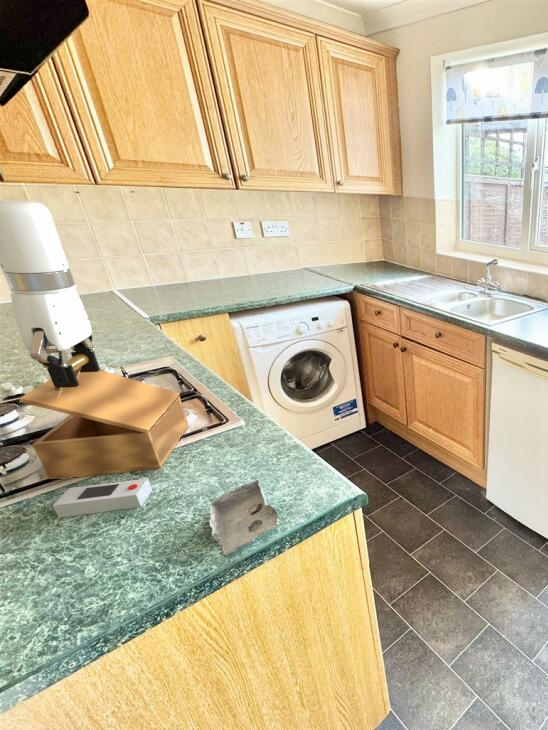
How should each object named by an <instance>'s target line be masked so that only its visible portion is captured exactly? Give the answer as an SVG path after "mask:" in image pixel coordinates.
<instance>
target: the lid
mask: <svg viewBox="0 0 548 730" xmlns="http://www.w3.org/2000/svg"><path fill="white" fill-rule="evenodd" d="M88 361H89V359H88V357H87V356H86V355H83V354H77V355H76V356H74V357H72V356H71V357H70V358H69V359H68V365H72V367H73V369H74V372H75V375H76V377H77V380H78V382H79V385H78V386H77V387H68V388H56V387H54V384H53V382H52V379H51V378H50V379H48V380H46V381H45V382H43V383H42V384H40V385H38V386H37V387H35V388H34V389H32V390H31V391H29V392H27V393H26V394H24V395H22V396H21V397H20V398H19V403H22V404H26V405H30V406H34V407H38V408H43V409H46V410H50V411H55V412H58V413H62V414H66V415H75V416H79V417H83V418H87V419H91V420H95V421H99V422H103V423H107V424H111V425H115V426H119V427H123V428H127V429H131V430H135V431H140V432H144V433H147V432H148V431H149V430H150V429H151V428H152V427H153V425H154V424H155V423H156V422H157V421H158V420H159V418H160V417H161V416H162V415H163V414H164V413H165V411H166V410H167V409H168V408H169V407H170V406H171V404H172V403H173V402H174V401H175V400H176V399H177V397H180V392H177V391H174V390H171V389H167V388H163V387H160V386H157V385H153V384H149V383H146V382H143V381H139V380H136V379H133V378H129V377H125V376H122V375H119V374H115V373H112V372H108V371H106V370H102V369H100V370H99V371H98V372H80V370H81V367H82V366H83V365H85V364H86V363H88Z"/></svg>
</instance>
